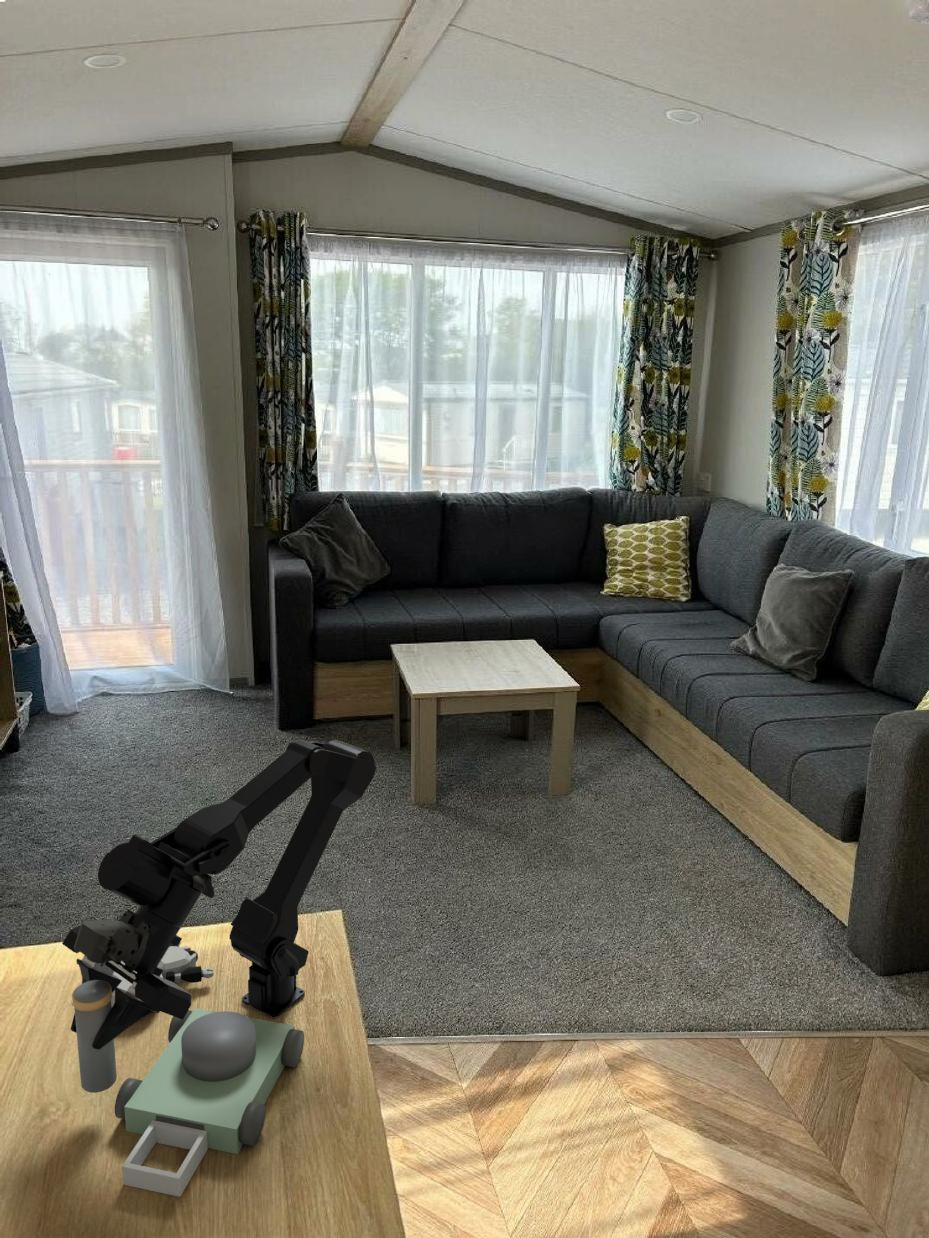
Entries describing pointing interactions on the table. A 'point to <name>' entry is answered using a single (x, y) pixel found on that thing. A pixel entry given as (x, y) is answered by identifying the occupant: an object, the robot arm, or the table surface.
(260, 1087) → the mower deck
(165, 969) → the robot toy
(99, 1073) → the grey banded cylinder
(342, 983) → the table surface
